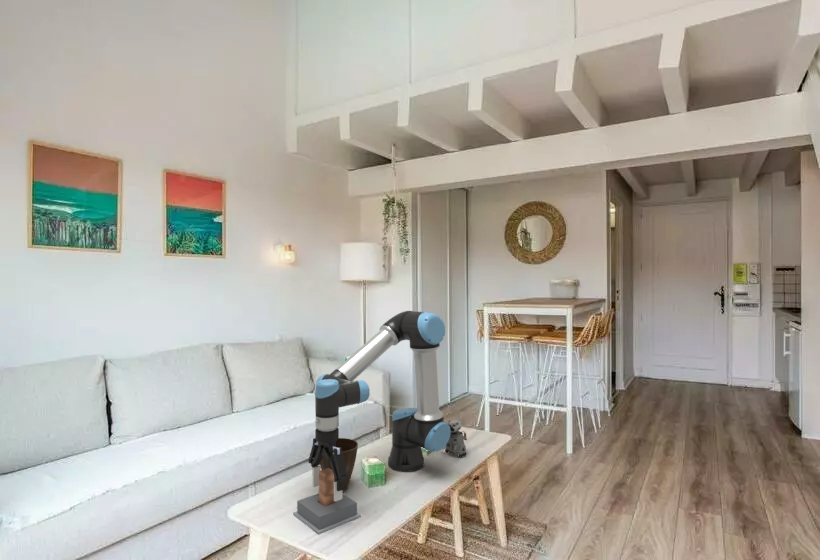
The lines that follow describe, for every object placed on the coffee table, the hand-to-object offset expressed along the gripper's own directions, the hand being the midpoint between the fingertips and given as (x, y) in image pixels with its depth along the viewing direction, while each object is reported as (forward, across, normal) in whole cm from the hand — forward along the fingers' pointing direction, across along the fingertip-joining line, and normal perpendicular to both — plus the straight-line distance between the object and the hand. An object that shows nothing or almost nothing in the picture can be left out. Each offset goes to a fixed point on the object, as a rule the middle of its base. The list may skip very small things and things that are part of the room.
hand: (326, 492), depth 157 cm
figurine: (+8, -8, +69) cm, 70 cm away
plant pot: (+8, -15, +14) cm, 22 cm away
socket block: (+8, 0, 0) cm, 8 cm away
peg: (+7, 0, 0) cm, 7 cm away
